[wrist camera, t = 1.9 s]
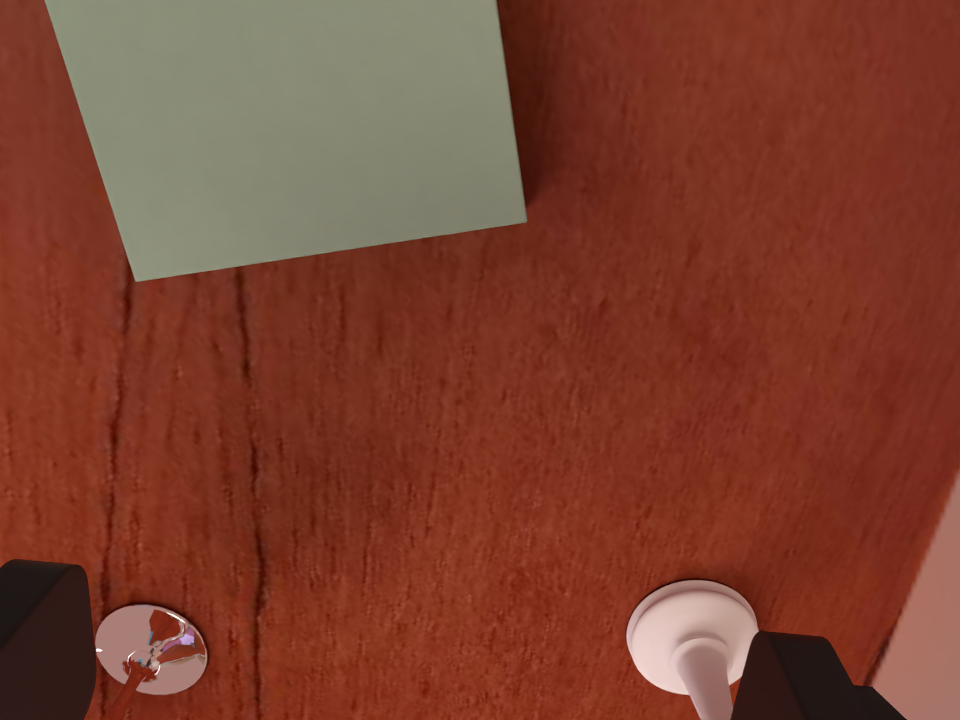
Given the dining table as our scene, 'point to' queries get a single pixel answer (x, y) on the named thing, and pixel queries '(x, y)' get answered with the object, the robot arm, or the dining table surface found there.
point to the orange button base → (291, 124)
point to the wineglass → (149, 652)
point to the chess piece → (693, 642)
